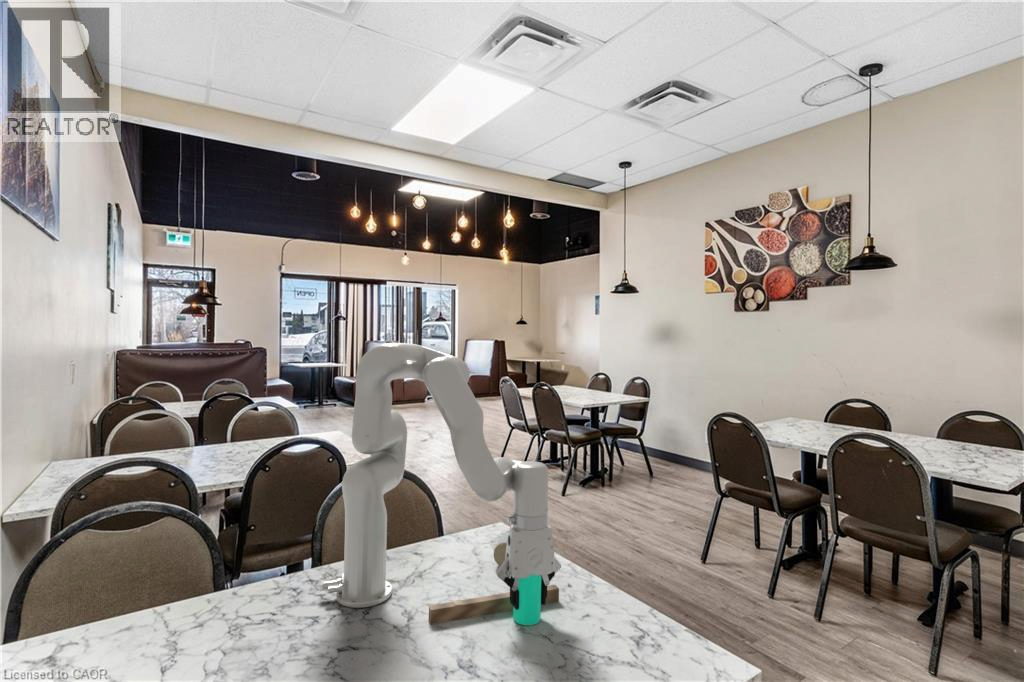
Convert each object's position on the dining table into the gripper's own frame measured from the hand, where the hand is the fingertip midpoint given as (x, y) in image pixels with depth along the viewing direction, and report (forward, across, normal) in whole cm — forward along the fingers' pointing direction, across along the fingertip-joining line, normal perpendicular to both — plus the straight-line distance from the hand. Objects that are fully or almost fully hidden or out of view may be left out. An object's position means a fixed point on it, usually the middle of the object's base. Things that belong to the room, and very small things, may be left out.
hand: (528, 603), depth 108 cm
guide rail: (+3, -5, +5) cm, 8 cm away
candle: (+3, 0, 0) cm, 3 cm away
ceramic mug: (+4, +7, +27) cm, 28 cm away
